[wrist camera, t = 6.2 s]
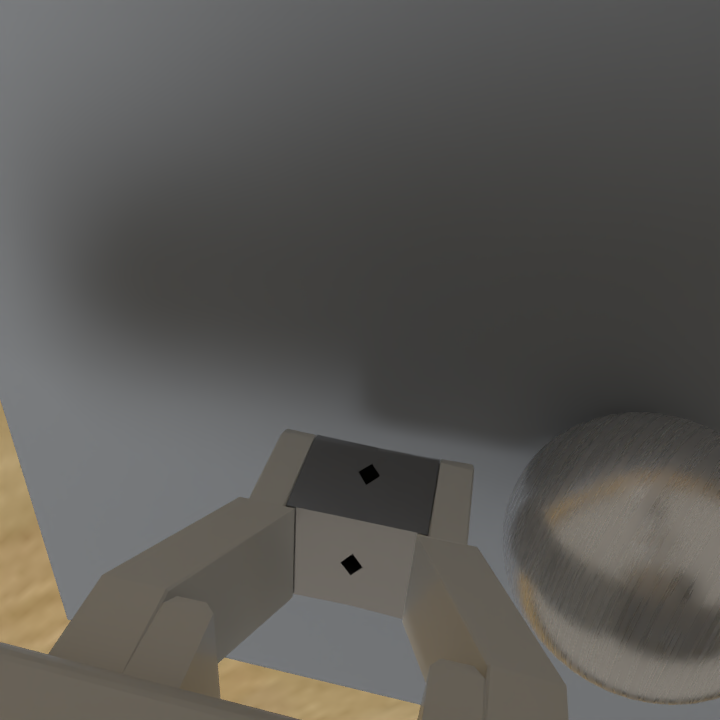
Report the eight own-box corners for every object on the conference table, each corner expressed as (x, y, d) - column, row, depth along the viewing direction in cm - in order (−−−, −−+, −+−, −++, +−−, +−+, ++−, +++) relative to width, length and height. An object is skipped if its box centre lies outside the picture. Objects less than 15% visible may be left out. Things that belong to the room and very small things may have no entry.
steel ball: (895, 448, 8) (609, 334, 11) (823, 634, 6) (469, 435, 8) (778, 639, 11) (559, 510, 13) (686, 837, 8) (434, 632, 10)
